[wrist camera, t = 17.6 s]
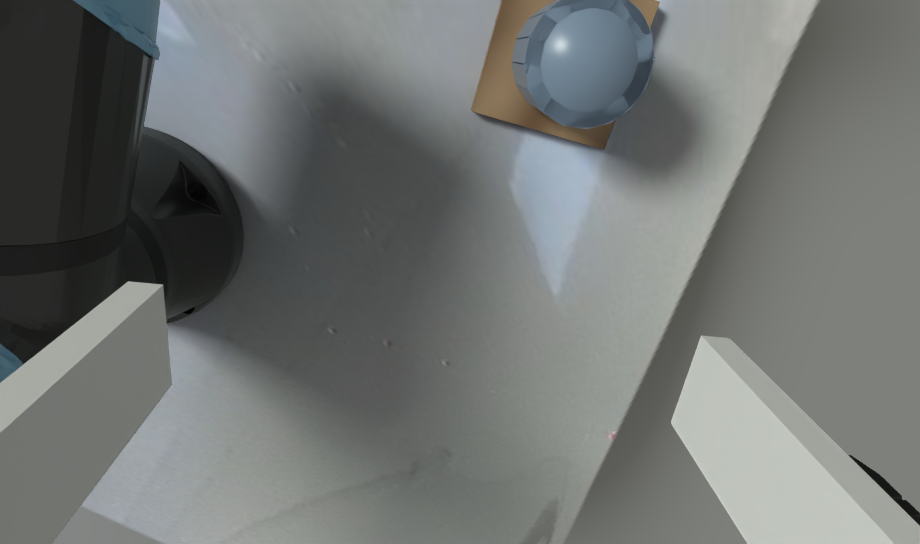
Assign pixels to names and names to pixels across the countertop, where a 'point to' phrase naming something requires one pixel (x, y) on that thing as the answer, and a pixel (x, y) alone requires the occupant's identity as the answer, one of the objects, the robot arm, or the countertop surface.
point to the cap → (584, 60)
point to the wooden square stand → (498, 82)
